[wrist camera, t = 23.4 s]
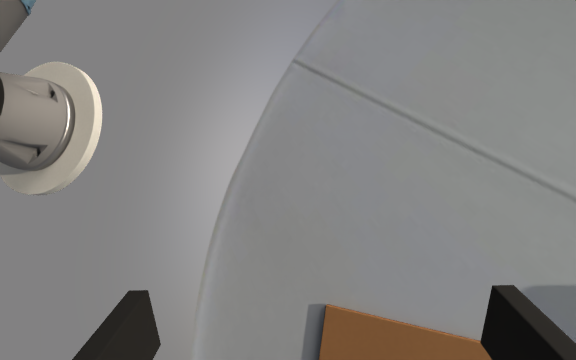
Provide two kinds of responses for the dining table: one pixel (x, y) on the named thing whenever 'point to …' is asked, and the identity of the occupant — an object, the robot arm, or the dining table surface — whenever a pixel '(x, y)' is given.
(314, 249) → the dining table surface
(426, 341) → the cork mat
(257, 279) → the dining table surface
